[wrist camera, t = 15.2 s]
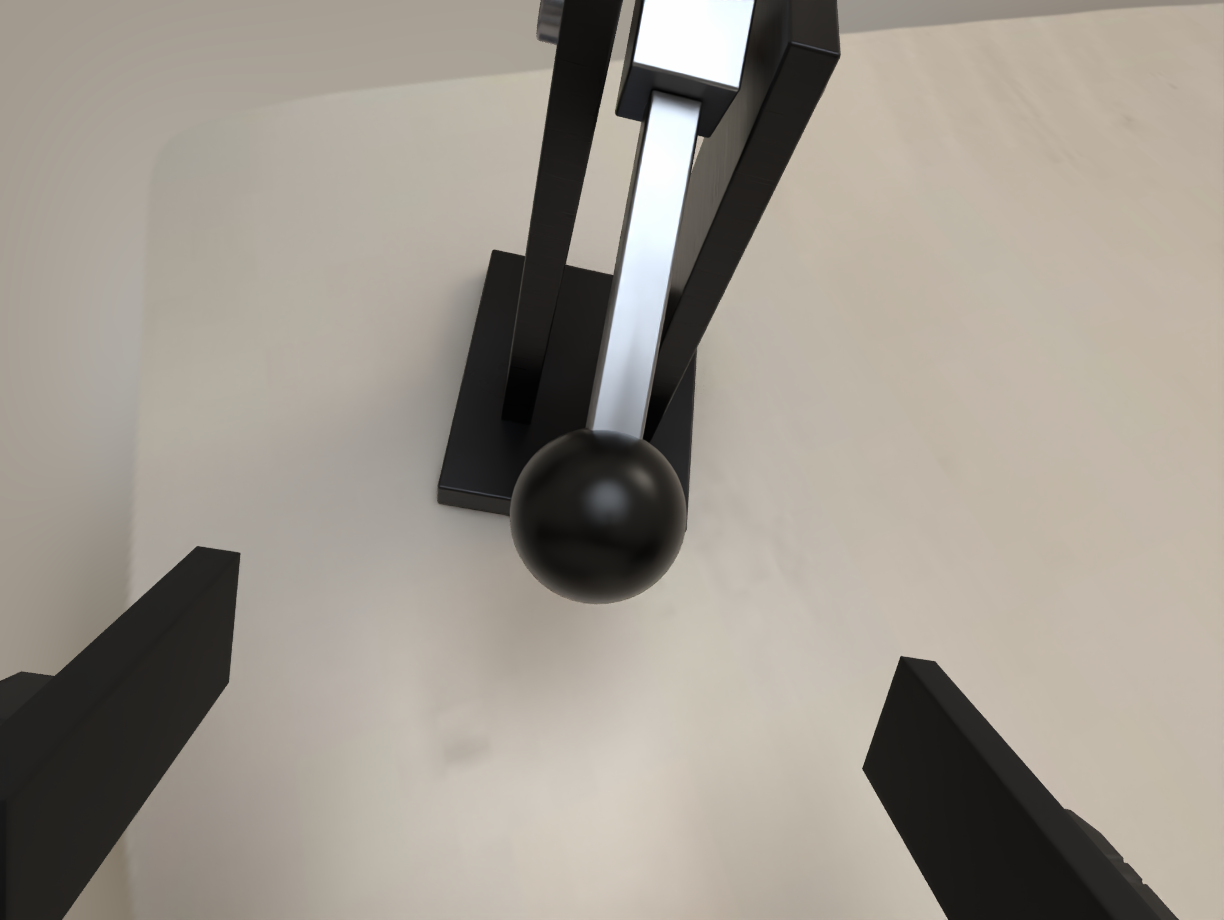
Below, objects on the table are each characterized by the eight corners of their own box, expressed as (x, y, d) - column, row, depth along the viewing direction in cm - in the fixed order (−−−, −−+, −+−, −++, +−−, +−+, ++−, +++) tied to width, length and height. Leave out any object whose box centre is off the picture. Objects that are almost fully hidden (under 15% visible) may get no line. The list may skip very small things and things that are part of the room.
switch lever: (652, 599, 18) (686, 634, 15) (496, 574, 18) (493, 604, 14) (754, 39, 19) (811, -60, 15) (602, -1, 18) (625, -113, 15)
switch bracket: (677, 545, 27) (936, 184, 13) (436, 503, 26) (445, 66, 12) (691, 312, 32) (891, -128, 18) (490, 269, 31) (539, -231, 17)
